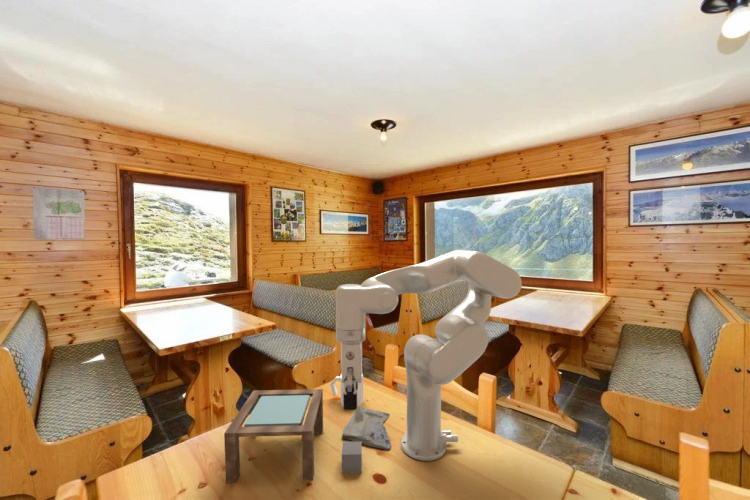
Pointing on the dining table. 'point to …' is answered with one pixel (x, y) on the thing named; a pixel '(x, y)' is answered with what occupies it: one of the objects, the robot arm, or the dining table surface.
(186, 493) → the dining table surface
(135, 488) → the dining table surface
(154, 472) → the dining table surface
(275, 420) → the trapdoor
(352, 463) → the gray cube
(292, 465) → the dining table surface
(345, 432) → the fossil rock
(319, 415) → the trapdoor frame
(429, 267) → the robot arm
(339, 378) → the mug
